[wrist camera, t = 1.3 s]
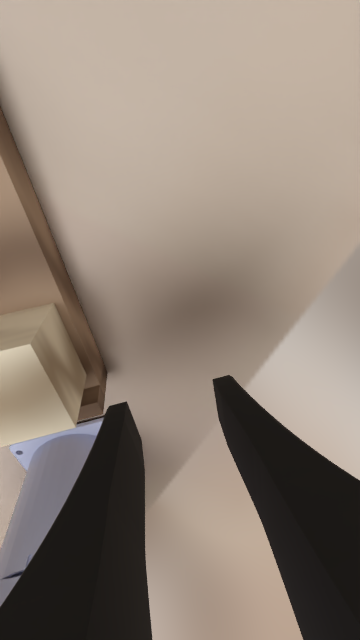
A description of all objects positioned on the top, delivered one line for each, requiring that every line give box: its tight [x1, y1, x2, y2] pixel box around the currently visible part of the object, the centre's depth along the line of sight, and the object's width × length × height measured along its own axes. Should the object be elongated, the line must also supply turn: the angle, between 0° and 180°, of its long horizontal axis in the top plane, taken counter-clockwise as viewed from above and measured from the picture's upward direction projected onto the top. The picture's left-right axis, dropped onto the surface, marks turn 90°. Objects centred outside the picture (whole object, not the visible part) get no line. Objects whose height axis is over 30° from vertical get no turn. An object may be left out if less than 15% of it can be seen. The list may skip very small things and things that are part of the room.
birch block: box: [0, 303, 87, 447], centre depth 14 cm, size 5×5×4 cm
